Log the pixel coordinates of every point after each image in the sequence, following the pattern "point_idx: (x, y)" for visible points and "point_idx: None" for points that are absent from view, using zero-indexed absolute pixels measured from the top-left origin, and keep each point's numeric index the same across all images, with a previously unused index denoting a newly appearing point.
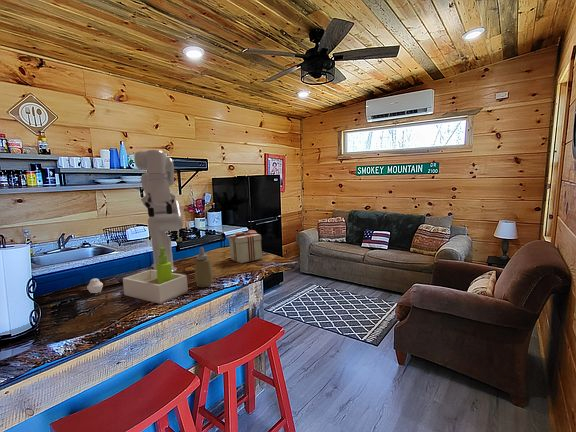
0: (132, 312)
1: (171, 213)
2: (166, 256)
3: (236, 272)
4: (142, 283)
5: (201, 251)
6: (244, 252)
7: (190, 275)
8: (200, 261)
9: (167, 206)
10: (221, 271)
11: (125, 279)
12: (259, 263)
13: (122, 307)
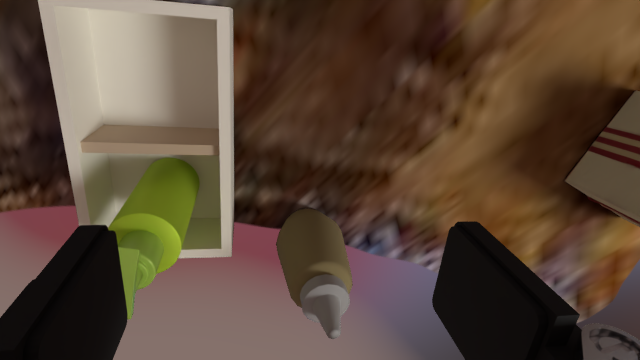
0: (8, 197)
1: (439, 309)
2: (142, 286)
3: None
4: (70, 159)
5: (321, 324)
6: (613, 206)
7: (391, 84)
8: (297, 300)
9: (519, 344)
10: (460, 173)
11: (42, 19)
12: (566, 240)
13: (3, 122)
